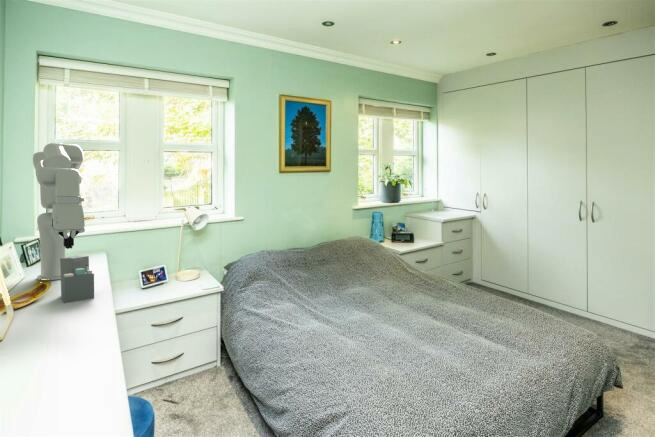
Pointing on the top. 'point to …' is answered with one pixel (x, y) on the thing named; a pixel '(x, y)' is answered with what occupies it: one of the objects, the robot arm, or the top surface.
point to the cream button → (68, 275)
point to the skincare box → (73, 264)
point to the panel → (77, 287)
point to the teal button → (79, 271)
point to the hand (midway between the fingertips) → (68, 248)
